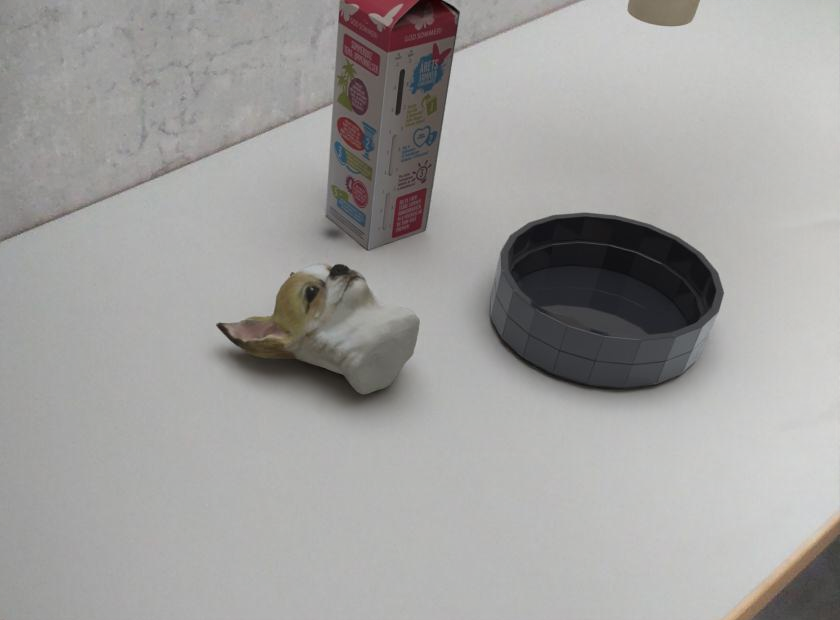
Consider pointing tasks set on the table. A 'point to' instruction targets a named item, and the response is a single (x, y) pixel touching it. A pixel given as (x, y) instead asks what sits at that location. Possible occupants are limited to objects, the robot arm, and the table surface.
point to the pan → (604, 299)
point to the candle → (663, 11)
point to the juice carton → (388, 115)
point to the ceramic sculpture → (332, 327)
